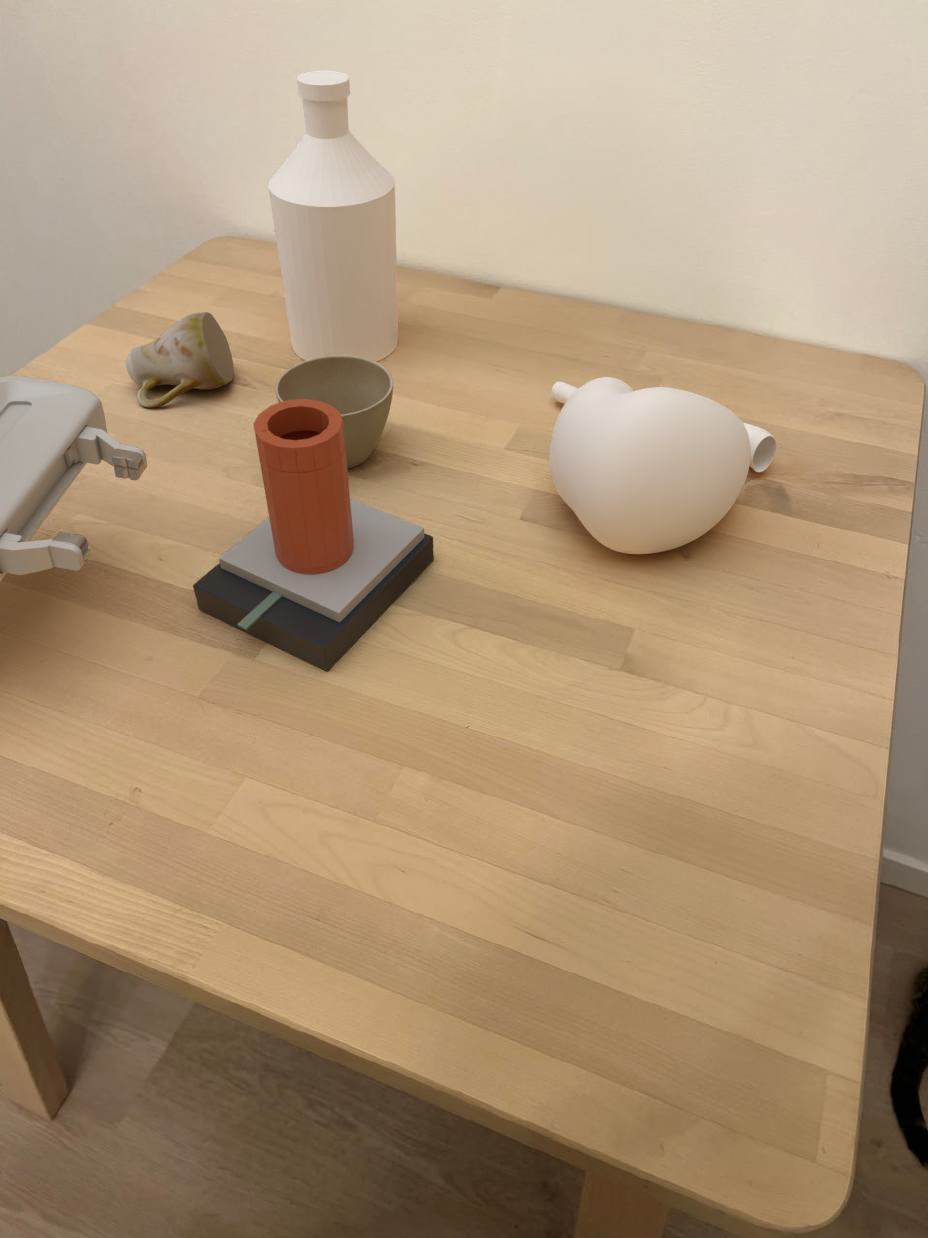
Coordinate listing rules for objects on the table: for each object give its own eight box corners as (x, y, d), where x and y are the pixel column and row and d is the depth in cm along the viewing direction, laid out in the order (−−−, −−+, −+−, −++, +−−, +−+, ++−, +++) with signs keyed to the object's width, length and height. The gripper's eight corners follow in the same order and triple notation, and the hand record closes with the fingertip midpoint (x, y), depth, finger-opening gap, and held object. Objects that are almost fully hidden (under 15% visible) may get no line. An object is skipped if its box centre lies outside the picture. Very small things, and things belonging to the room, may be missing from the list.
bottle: (280, 322, 102) (245, 63, 84) (385, 308, 104) (373, 54, 87) (299, 376, 94) (265, 103, 76) (413, 359, 96) (406, 92, 79)
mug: (131, 370, 95) (163, 279, 90) (221, 414, 97) (257, 327, 92) (106, 391, 88) (139, 295, 84) (203, 438, 90) (240, 346, 86)
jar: (259, 556, 69) (235, 430, 61) (307, 515, 72) (291, 390, 65) (322, 584, 67) (306, 457, 59) (369, 540, 70) (359, 414, 63)
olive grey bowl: (335, 411, 89) (328, 342, 84) (418, 446, 85) (416, 376, 80) (262, 460, 84) (250, 389, 79) (347, 500, 80) (340, 428, 74)
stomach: (786, 532, 84) (578, 447, 97) (835, 387, 78) (606, 318, 91) (645, 592, 68) (421, 481, 82) (693, 417, 62) (441, 328, 76)
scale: (184, 621, 69) (174, 586, 66) (313, 511, 78) (308, 477, 76) (314, 685, 65) (309, 651, 62) (433, 560, 74) (433, 526, 72)
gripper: (-210, 534, 52) (30, 578, 52) (-24, 351, 67) (165, 385, 66) (-168, 612, 57) (53, 653, 56) (-2, 425, 71) (175, 457, 71)
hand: (115, 507), depth 61 cm, fingers open, 8 cm apart
